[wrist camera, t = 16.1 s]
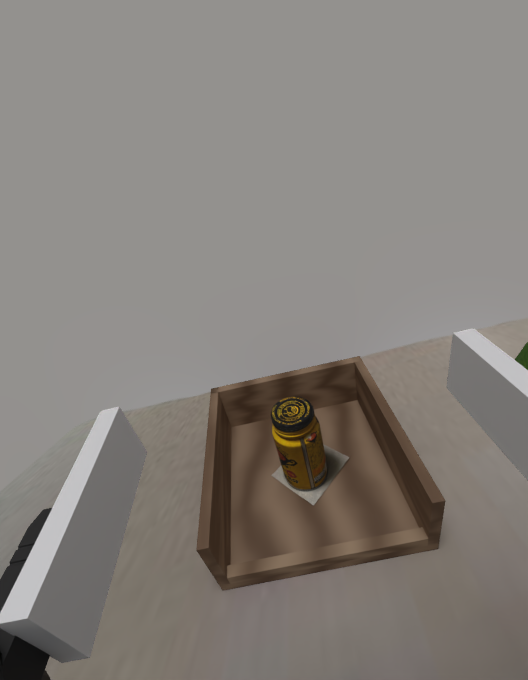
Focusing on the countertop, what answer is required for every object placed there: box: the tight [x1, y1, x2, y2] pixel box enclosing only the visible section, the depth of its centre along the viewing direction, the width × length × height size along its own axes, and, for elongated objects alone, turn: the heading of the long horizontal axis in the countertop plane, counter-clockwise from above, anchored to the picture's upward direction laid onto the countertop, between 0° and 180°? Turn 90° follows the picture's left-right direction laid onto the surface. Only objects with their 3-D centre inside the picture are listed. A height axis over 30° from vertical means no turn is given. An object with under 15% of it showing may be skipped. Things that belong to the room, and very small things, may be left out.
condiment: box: [271, 396, 349, 506], centre depth 42 cm, size 7×8×12 cm
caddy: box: [197, 356, 445, 590], centre depth 43 cm, size 24×24×9 cm
